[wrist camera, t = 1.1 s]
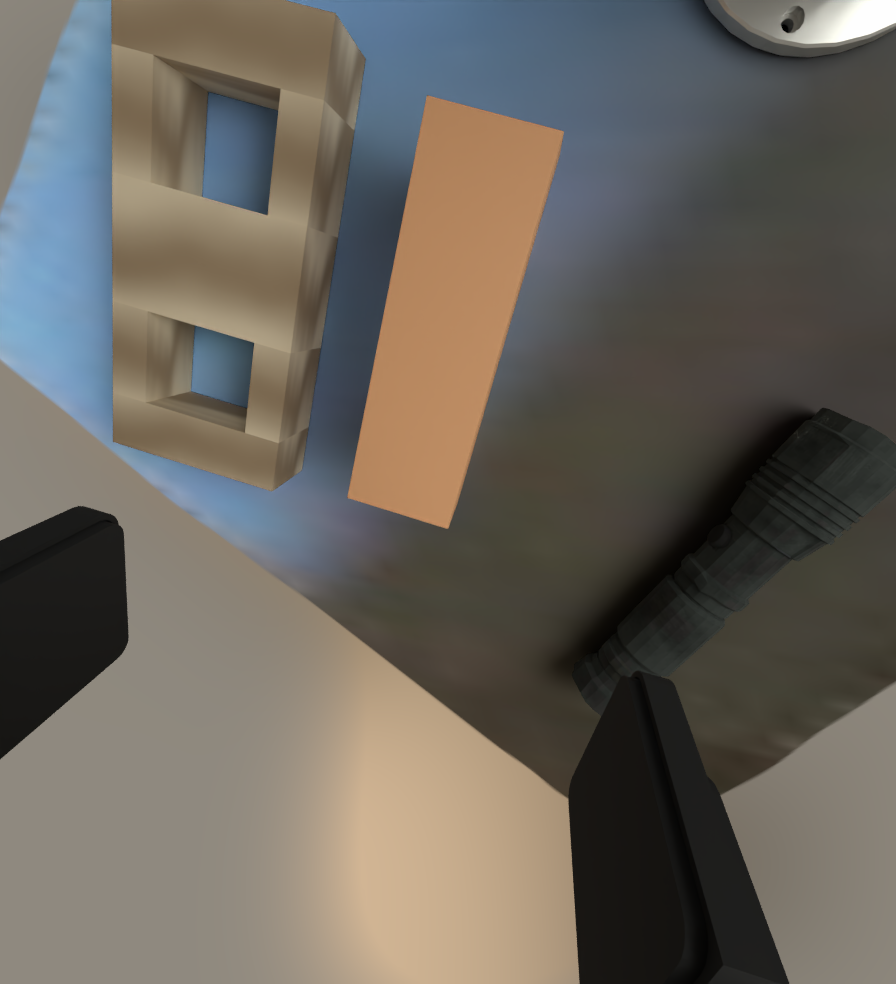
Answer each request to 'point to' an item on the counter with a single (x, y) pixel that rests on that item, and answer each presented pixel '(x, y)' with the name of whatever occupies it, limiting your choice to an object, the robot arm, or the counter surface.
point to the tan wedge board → (450, 303)
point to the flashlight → (749, 548)
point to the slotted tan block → (224, 224)
